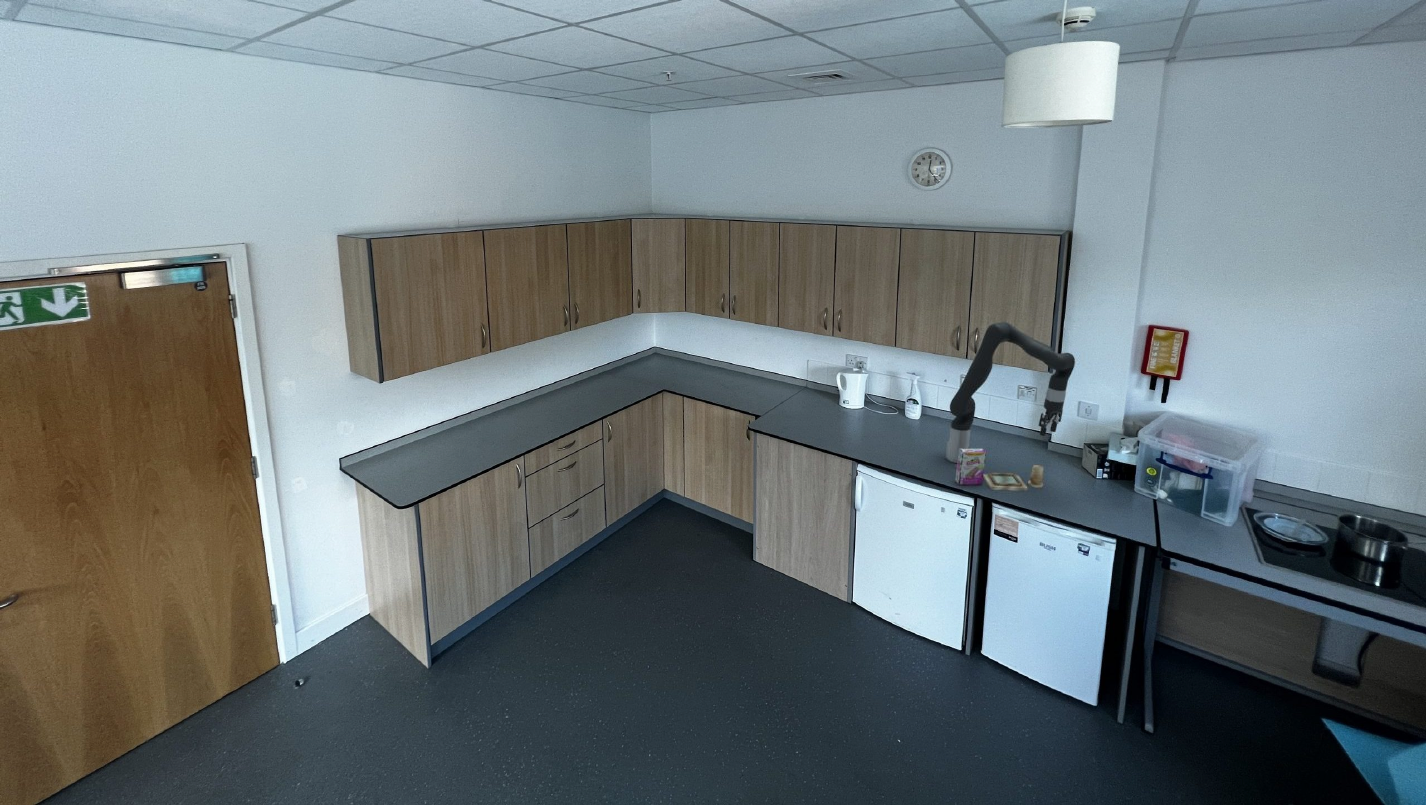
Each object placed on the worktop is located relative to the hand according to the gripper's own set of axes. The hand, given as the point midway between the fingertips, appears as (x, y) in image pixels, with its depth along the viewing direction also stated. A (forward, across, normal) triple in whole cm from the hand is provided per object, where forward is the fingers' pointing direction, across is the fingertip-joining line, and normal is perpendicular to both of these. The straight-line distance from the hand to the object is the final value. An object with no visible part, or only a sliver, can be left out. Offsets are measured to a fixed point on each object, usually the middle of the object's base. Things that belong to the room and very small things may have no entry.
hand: (1047, 433), depth 310 cm
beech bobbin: (+28, -8, -4) cm, 30 cm away
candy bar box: (+30, +15, -24) cm, 41 cm away
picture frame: (+29, +3, -14) cm, 32 cm away
